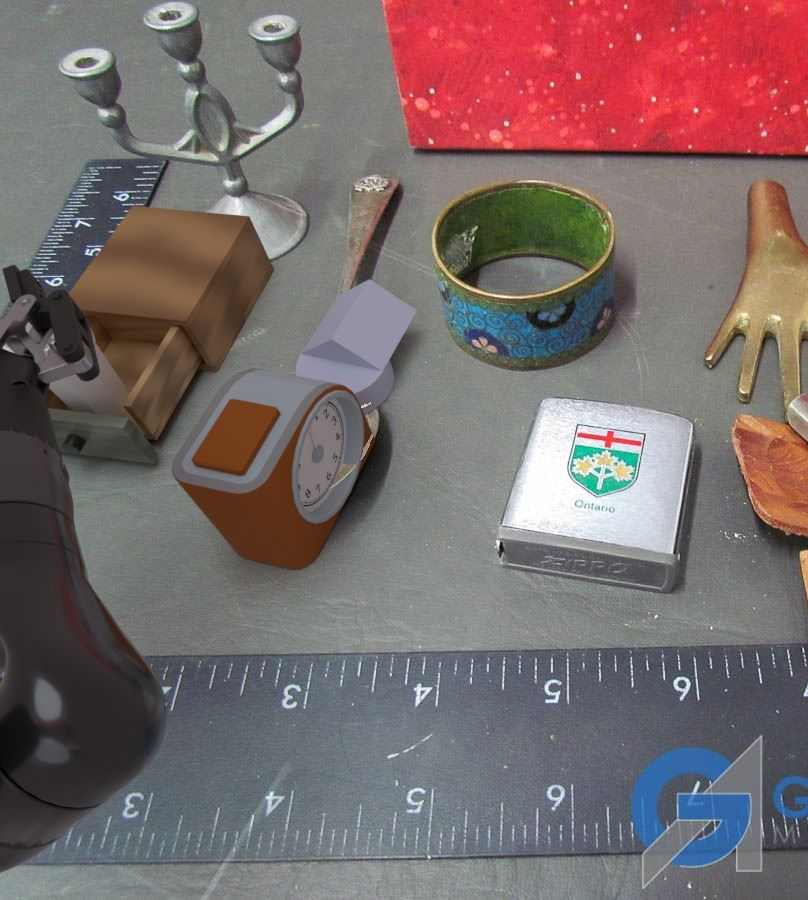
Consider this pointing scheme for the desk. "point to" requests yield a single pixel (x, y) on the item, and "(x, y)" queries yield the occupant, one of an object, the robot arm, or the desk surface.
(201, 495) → the alarm clock
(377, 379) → the wedge on round base
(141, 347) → the drawer
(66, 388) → the cup
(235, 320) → the cabinet
